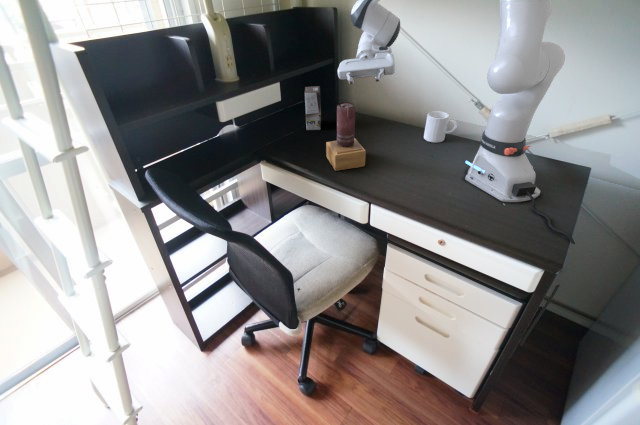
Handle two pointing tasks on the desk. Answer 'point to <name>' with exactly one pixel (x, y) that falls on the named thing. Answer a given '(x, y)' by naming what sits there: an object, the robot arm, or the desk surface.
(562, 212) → the desk surface
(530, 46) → the robot arm
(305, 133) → the desk surface
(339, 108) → the can
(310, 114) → the coffee box
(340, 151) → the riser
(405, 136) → the desk surface
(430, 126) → the mug
